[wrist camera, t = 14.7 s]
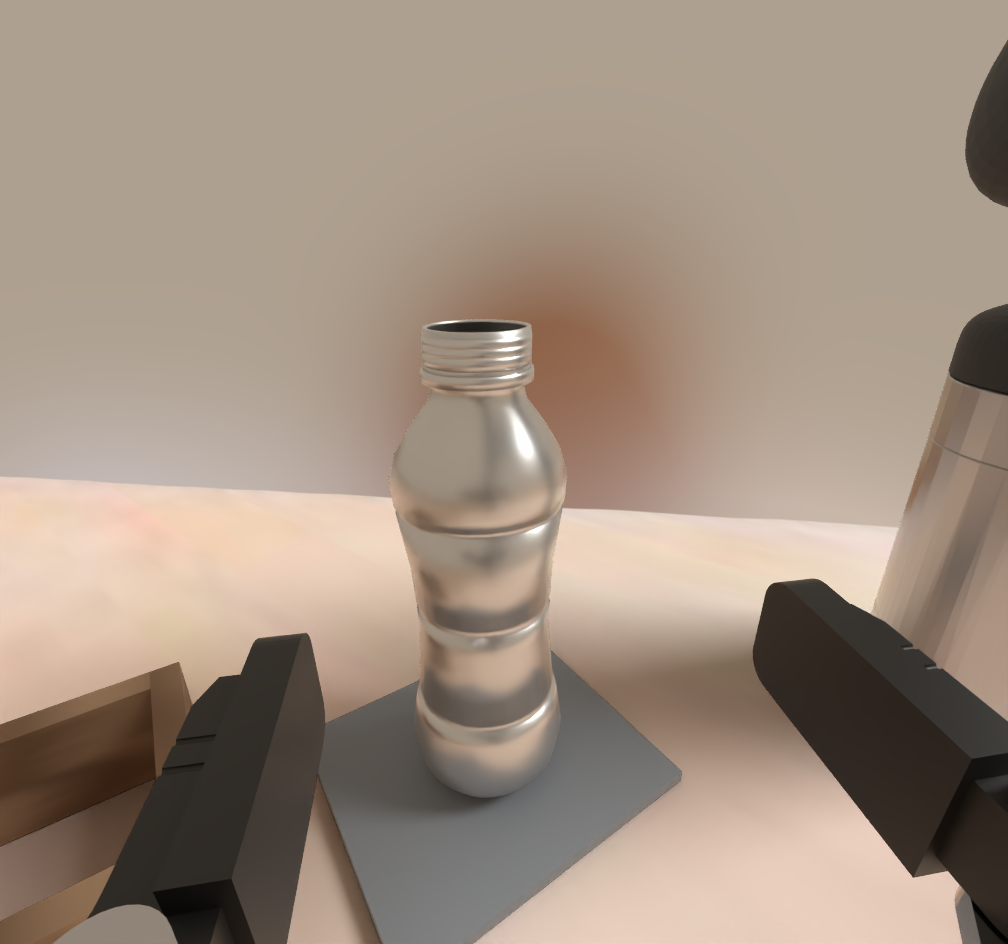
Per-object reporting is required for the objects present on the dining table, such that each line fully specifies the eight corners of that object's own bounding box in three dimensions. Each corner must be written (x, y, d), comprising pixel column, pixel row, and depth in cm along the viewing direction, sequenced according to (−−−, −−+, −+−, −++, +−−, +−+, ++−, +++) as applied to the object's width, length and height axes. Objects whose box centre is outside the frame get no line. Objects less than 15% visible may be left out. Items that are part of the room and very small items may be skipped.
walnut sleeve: (202, 738, 27) (179, 661, 25) (236, 942, 19) (205, 852, 17) (-116, 874, 21) (-179, 787, 19) (-261, 1249, 13) (-394, 1166, 11)
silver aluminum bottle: (582, 793, 23) (616, 333, 16) (432, 844, 22) (386, 346, 14) (530, 688, 29) (536, 312, 21) (407, 721, 27) (365, 319, 19)
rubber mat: (528, 637, 34) (528, 629, 34) (680, 780, 25) (682, 771, 24) (305, 742, 27) (303, 733, 26) (402, 999, 18) (400, 989, 17)
